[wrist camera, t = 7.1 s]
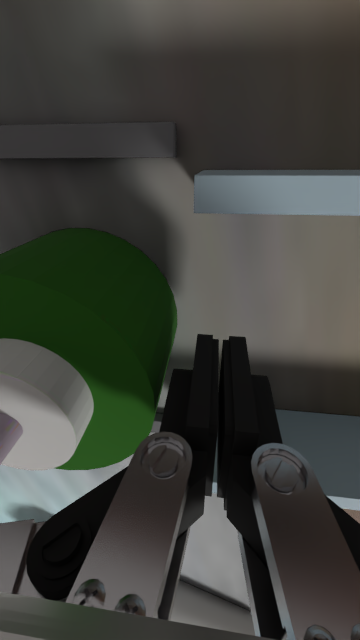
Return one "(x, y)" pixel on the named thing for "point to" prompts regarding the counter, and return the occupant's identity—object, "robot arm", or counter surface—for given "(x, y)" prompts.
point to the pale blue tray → (298, 199)
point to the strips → (90, 147)
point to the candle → (80, 350)
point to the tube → (209, 611)
